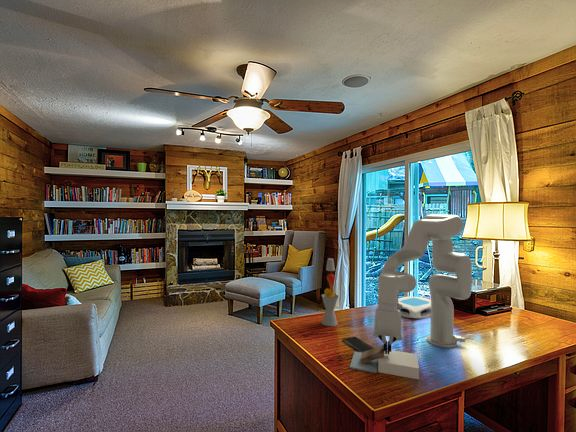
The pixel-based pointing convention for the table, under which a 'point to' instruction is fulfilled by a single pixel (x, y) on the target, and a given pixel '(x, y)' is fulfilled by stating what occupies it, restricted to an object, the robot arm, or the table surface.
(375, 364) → the mat
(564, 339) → the table surface
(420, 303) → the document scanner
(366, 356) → the walnut tile
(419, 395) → the table surface
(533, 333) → the table surface
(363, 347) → the phone
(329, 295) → the lava lamp
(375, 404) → the table surface
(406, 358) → the riser
